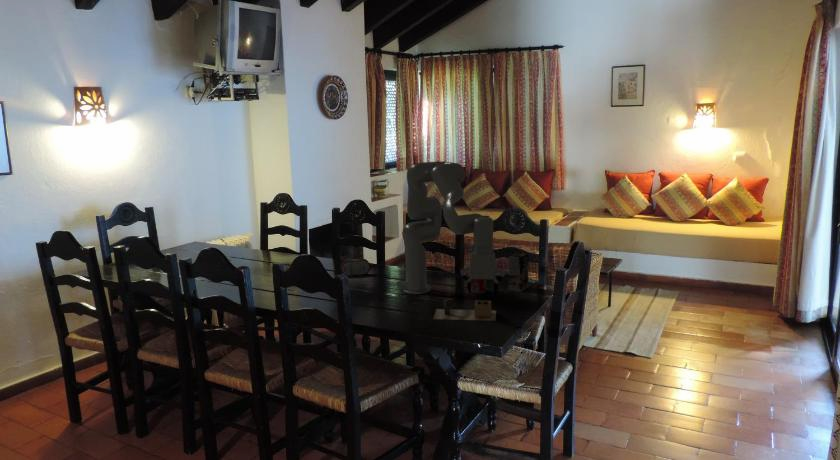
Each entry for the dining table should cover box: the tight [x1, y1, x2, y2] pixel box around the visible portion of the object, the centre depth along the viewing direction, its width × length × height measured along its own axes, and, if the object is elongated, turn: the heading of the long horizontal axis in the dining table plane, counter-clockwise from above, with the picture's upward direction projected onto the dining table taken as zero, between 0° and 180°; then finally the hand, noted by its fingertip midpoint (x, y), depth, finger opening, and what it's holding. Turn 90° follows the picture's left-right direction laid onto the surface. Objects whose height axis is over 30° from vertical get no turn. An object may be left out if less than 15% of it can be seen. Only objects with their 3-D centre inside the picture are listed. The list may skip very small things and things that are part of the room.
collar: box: [473, 299, 492, 318], centre depth 235 cm, size 6×6×5 cm
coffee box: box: [507, 252, 530, 293], centre depth 272 cm, size 9×6×16 cm
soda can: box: [470, 279, 487, 295], centre depth 269 cm, size 7×7×13 cm
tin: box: [339, 258, 371, 277], centre depth 301 cm, size 15×3×8 cm, turn 106°
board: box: [432, 299, 497, 322], centre depth 236 cm, size 24×12×7 cm, turn 83°
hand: (482, 292), depth 234 cm, fingers open, 9 cm apart
